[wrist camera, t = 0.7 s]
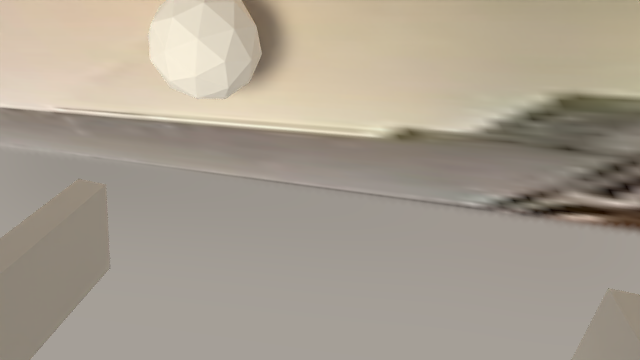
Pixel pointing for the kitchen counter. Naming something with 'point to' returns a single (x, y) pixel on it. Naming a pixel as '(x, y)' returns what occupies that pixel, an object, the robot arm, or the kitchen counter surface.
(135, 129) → the kitchen counter surface
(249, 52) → the ball
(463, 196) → the kitchen counter surface
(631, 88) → the kitchen counter surface
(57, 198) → the robot arm
